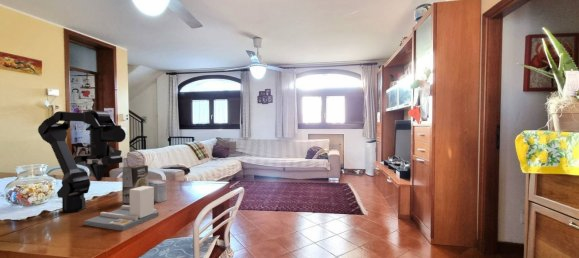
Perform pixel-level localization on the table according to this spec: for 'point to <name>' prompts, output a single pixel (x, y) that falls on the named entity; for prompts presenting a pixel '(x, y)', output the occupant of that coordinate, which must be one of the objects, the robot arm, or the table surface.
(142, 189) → the toggle
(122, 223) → the switch board
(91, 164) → the robot arm
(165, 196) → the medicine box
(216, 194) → the table surface
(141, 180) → the coffee box
